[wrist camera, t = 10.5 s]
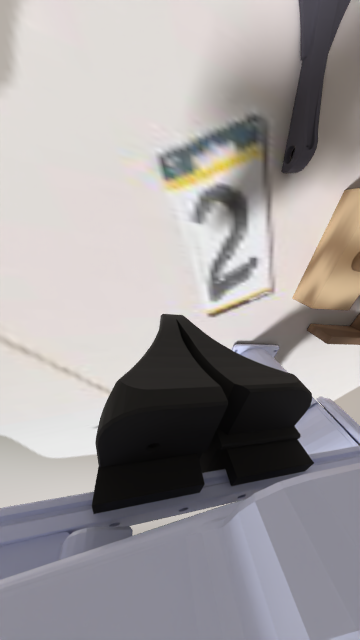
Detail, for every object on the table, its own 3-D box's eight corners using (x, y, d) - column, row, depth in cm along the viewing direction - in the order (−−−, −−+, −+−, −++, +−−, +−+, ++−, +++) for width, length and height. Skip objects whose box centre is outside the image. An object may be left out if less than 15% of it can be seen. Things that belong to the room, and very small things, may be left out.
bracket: (210, 177, 15) (223, 169, 13) (222, -237, 8) (257, -438, 5) (344, 173, 17) (376, 165, 15) (459, -163, 10) (560, -286, 7)
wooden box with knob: (324, 299, 25) (369, 319, 20) (290, 297, 23) (330, 317, 18) (381, 201, 19) (466, 194, 14) (341, 190, 18) (419, 178, 13)
